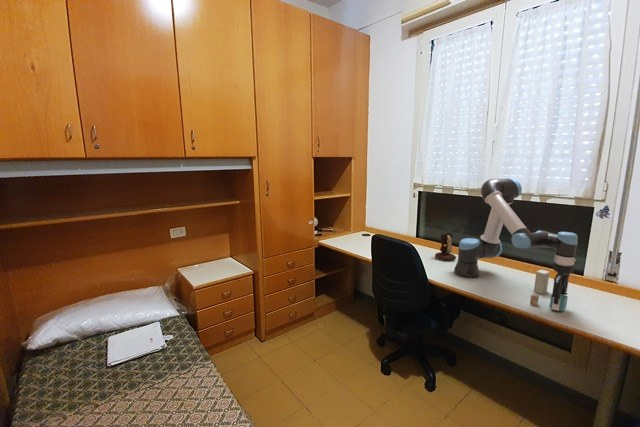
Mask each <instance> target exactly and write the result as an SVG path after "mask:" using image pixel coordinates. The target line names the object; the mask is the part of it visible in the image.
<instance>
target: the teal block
mask: <svg viewBox="0 0 640 427" xmlns="http://www.w3.org/2000/svg"><path fill="white" fill-rule="evenodd" d="M560 298H561V300H560V307H559V311H558V312H564V311H565V310H566V309H567V304H568V298H569V297H568V295H565V294H564V295H562V294H561V295H560ZM552 304H553V297H552V296H551V295H550V302H549V308H551V309H552Z"/></svg>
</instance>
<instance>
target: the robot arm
mask: <svg viewBox="0 0 640 427" xmlns="http://www.w3.org/2000/svg"><path fill="white" fill-rule="evenodd" d="M480 194H481V195H480V197H482V200H483V201H484V202H485V203H486V204H488V205H489V206H490V207H491V209H490V213H489V215H488V219H487V222H486V227H485V229H484V232H483V234H481V235H480V237H479V239H477V238H475V237H471V238H470V237H466V238H462V239H460V241H459V244H458V255H457V262H456V265H455V267H454V268H453V274H455V275H457V276H459V277H463V278H468V279H475V278H479V277H480V269H479V265H478V263H479V262H478V260H479V259H492V258H493V259H494V258H497V257H499V256H500V255H501V254H502V252H503V247H502V246H503V244H502V242H501V240H500V238H499V237H500V235H501V232H502V229H503V226H505V228H506V229H507V230H508V232H509V233H510V235H511V244H512V246H514V248H517V249H530V248H531V249H532V248H550V249H552V250H555V251H554V252H555V253H554V259H553V260H554V261H553V262H554V263H553V267H552V269H553V271H554V272H556V274H555V277H554V278H553V287H552V294H551V295H550V297H551V296H552V297H553V304H552V308H551V310H553V309H554V311H556V310H557V312H560V311H559V307H560V300H561V298H560V295H561V294H562V295H565V296H568V285H569V278H570V275H571V274H573V273H574V269H575V268H574V266H575V262H576V261H577V259H576V252H577V247H578V240H579V238H578V235H577V234H576V233H575V232H569V231H559V232H557V233H553V232H549V231H547V230H537V231H535V232H531V231H530V230H529V229H528V227H526V226H525V224H524V223H523V221H521V218H519V216H518V215H517V214H516V213H515V211H514V210H513V208H512V207H510V205H511V204H513V203H514V201H515V199H517V198H518V197H519V196H520V195H521V194H522V184H521V183H520V182H519V181H518V180H517V179H515V178H490V179H488V180H486V181H485V182H484V183H483V184H482V185H481V187H480Z"/></svg>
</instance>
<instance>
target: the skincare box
mask: <svg viewBox="0 0 640 427" xmlns="http://www.w3.org/2000/svg"><path fill="white" fill-rule="evenodd" d="M535 272H536V274H535V279H534V280H535V281H534V285H533V287H534V288H533V292H535V293H539V294H541V295H543V294H544V293H546V292H548V286H549V279H550V271H549V270H545V269H539V270H537V271H535Z"/></svg>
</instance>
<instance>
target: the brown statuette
mask: <svg viewBox="0 0 640 427" xmlns="http://www.w3.org/2000/svg"><path fill="white" fill-rule="evenodd" d="M440 239H441V243H440V244H441V246H440V248H439V250H440V252H436V253H435V254H434V256H435V259H440V260H445V261H448V262H449V261H454V260H456V259H457V256H456V255H455V254H453V253H452V250H453V246H452V245H453V243H452V241H453V234H452V233H450V232H447V233H446V234H445V233H443V234H441V236H440Z"/></svg>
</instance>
